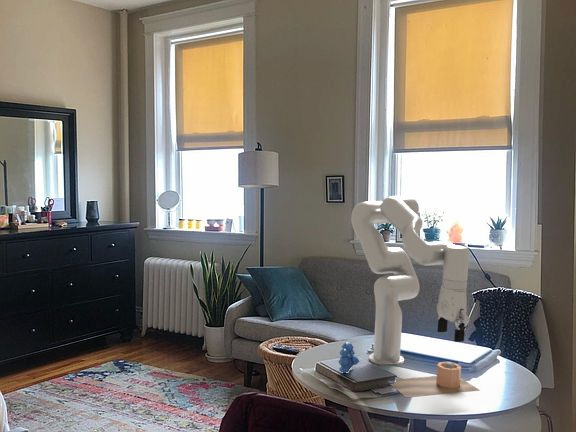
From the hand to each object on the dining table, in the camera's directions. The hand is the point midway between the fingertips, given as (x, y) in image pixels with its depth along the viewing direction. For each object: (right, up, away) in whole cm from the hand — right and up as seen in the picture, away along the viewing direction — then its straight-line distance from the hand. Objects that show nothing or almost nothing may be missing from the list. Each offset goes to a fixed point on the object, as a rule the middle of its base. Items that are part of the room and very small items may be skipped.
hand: (450, 336), depth 188 cm
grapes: (-32, -16, +8) cm, 36 cm away
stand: (-6, -17, 0) cm, 18 cm away
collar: (0, -16, +1) cm, 16 cm away
